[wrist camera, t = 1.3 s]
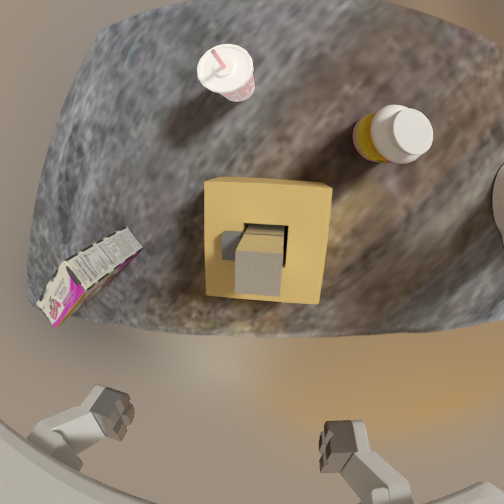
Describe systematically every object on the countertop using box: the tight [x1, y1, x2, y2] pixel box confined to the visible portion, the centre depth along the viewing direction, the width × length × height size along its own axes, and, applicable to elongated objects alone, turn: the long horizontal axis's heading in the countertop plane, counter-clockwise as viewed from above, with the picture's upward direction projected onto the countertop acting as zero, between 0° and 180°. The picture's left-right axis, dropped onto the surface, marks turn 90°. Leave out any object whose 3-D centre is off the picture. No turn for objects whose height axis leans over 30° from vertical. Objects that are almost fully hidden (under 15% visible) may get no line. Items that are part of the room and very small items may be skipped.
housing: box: [204, 177, 333, 304], centre depth 35 cm, size 14×14×10 cm
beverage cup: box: [197, 44, 255, 102], centre depth 26 cm, size 6×6×14 cm
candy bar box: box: [36, 226, 143, 329], centre depth 36 cm, size 11×5×16 cm, turn 129°
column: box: [235, 223, 285, 297], centre depth 31 cm, size 4×4×16 cm
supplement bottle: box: [353, 105, 433, 164], centre depth 27 cm, size 7×7×13 cm
